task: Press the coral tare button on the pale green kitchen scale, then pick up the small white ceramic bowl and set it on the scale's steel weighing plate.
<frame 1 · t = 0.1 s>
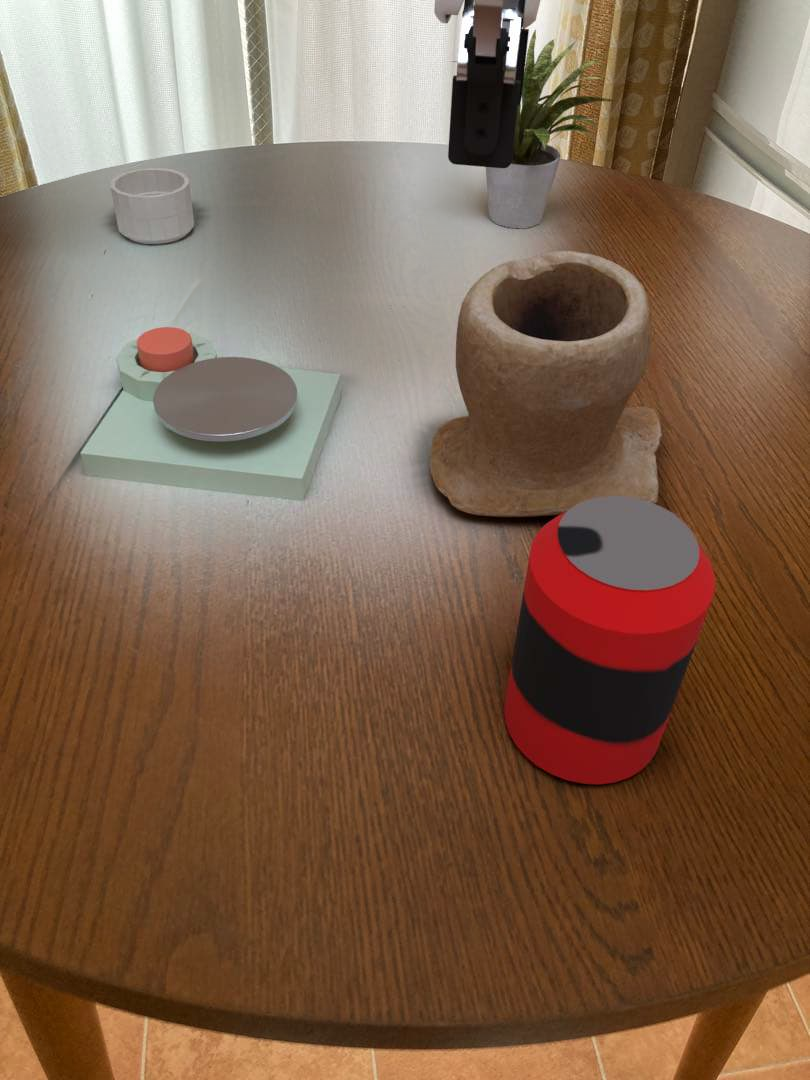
hand: (486, 132, 50), 20 cm above the table, tool pointing down, fingers open, 9 cm apart
tare button: (165, 350, 62), point 4 cm above the table, slide at 0.1 cm
stone cup: (548, 492, 59), on the table
weighing plate: (226, 400, 59), resting on scale
house plant: (507, 223, 89), on the table
scale: (221, 434, 62), on the table
bowl: (157, 230, 85), on the table
soda can: (579, 724, 45), on the table
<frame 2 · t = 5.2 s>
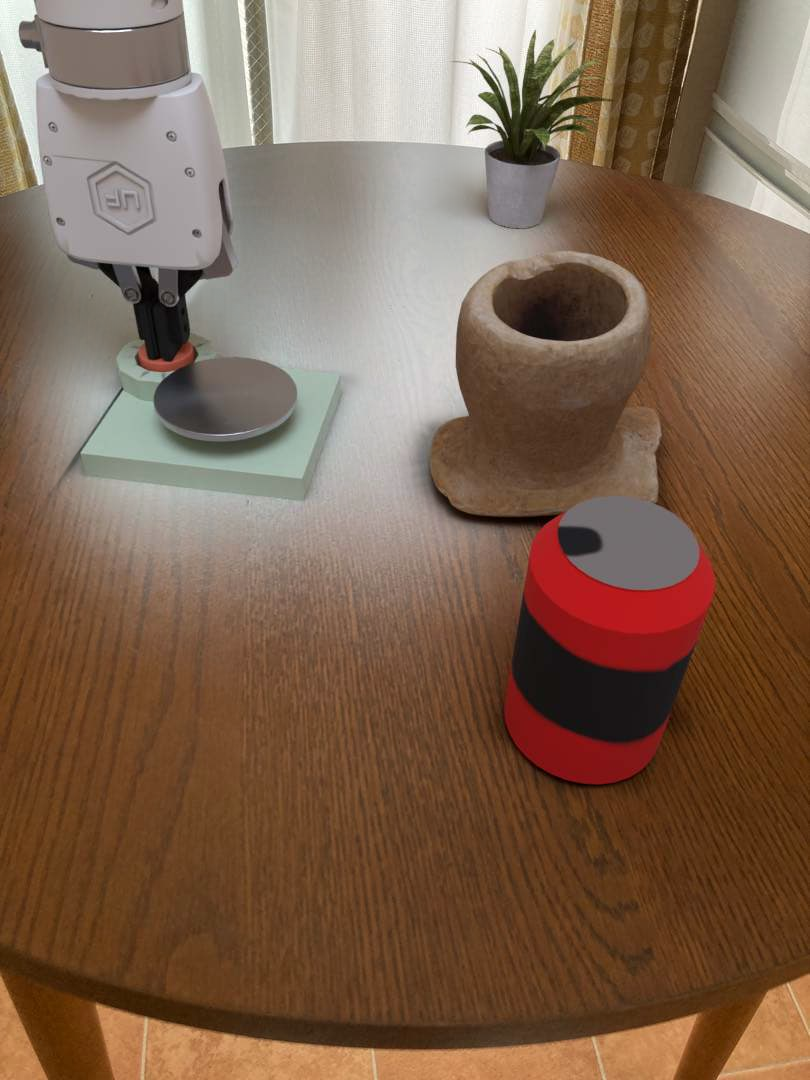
hand: (167, 349, 62), 4 cm above the table, tool pointing down, fingers closed
tare button: (167, 359, 63), point 3 cm above the table, slide at -0.6 cm, touching gripper
everything else where it was.
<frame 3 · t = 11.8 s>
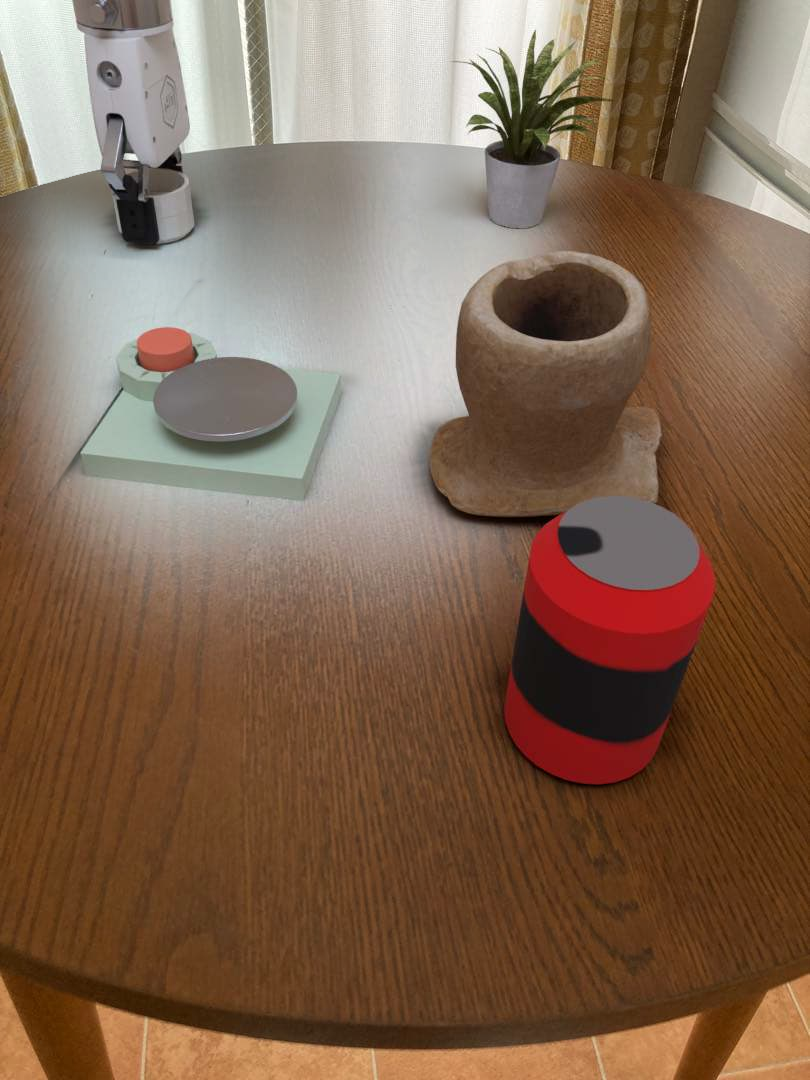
hand: (156, 222, 85), 1 cm above the table, tool pointing down, fingers closed on bowl, 6 cm apart
tare button: (165, 350, 62), point 4 cm above the table, slide at 0.1 cm
bowl: (157, 230, 85), on the table, touching gripper
everything else where it was.
when the fingers open (5 cm above the table, at t = 19.4 s): bowl stays where it is, resting on weighing plate.
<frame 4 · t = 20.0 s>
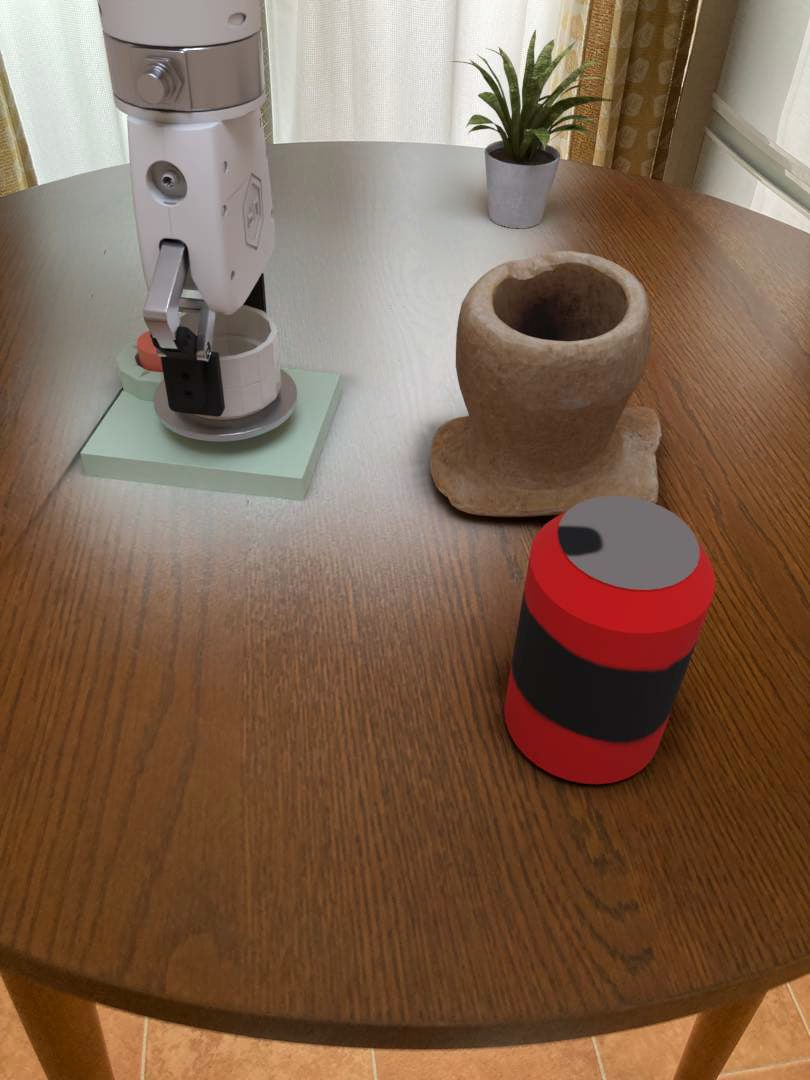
hand: (221, 367, 57), 6 cm above the table, tool pointing down, fingers open, 9 cm apart
bowl: (227, 393, 58), point 4 cm above the table, touching weighing plate
everything else where it was.
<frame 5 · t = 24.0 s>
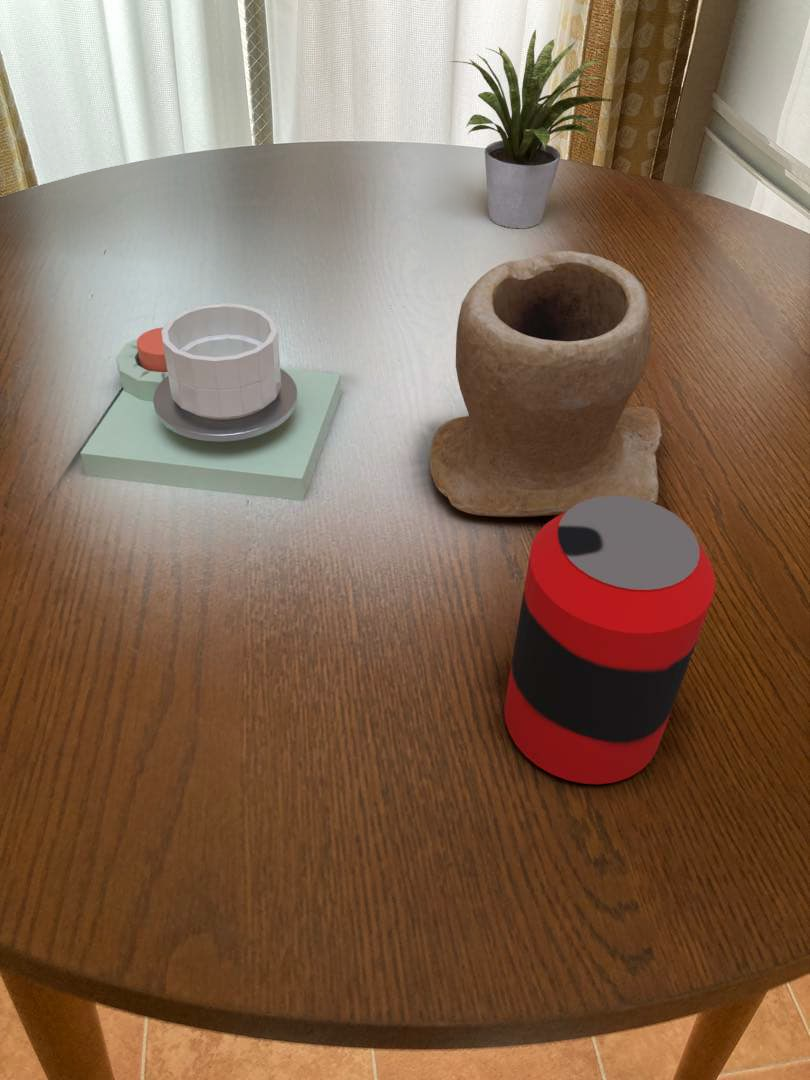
nothing on the table moved.
at the end: tare button pushed in 0.9 cm at the most during the clip, back to where it started at the end; tare button slide at 0.1 cm; bowl 0.1 cm from the target spot on the scale, point 4.0 cm above the scale's base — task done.
